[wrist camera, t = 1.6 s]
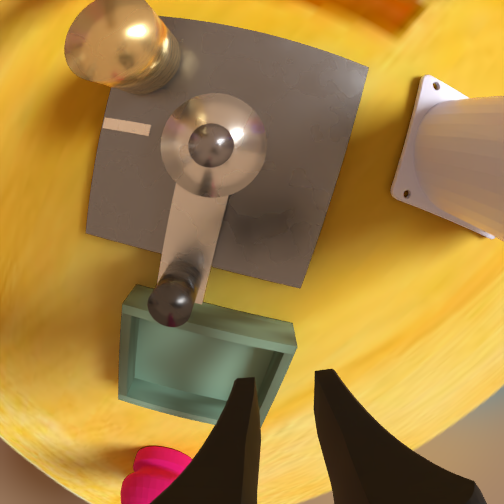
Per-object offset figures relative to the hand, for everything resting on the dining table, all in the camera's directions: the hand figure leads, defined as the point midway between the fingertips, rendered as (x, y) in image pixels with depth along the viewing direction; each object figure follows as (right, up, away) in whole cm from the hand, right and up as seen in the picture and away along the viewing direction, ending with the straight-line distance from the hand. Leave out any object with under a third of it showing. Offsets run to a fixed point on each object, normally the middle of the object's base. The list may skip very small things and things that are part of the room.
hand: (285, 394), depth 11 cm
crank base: (-3, +11, +6) cm, 13 cm away
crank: (-4, +8, +6) cm, 10 cm away
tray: (-5, -2, +11) cm, 12 cm away
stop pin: (-7, +15, +3) cm, 17 cm away
